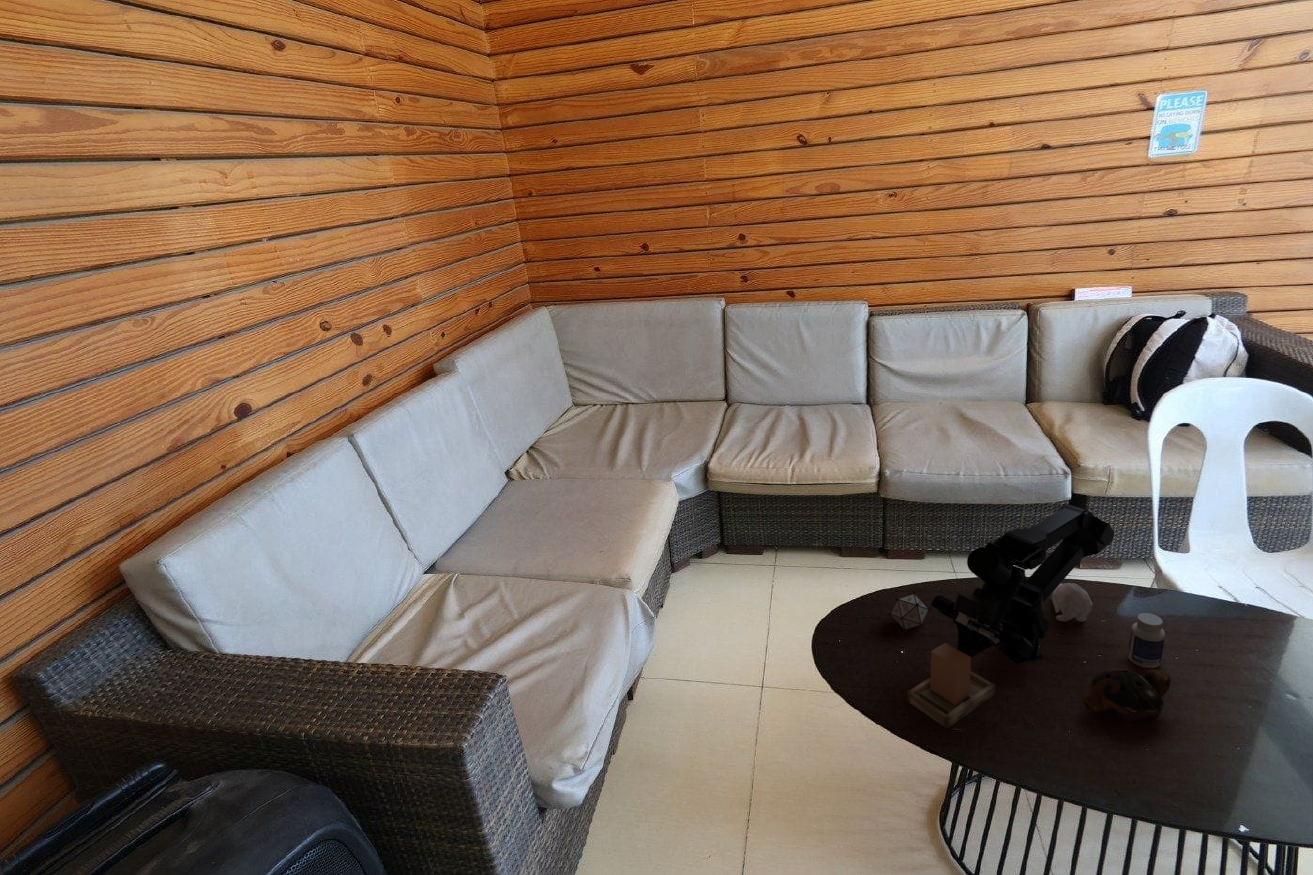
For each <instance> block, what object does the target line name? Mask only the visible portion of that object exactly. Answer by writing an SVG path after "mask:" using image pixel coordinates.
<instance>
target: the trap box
mask: <svg viewBox="0 0 1313 875" xmlns="http://www.w3.org/2000/svg"><path fill="white" fill-rule="evenodd" d="M930 681H931V676H929V677H928V678H926V679H925V680H923V681H922V682H920V683H919V684H918V685H916V686H914V687H913V688H911V689H909V690H908V691H907V692H906V702H908V703H909V704H910V705H912V706H914V708H916V709H918V710H919V711H920V712H922V713H923V714H925V715H927V716H929V717H930V718H931V719H933V720H934V721H935V722H936V723H938V724H940V725H941V726H943V727H944V728H945V729H949V728H950V727H952V726H953V725H954V724H956V723H957V722H959V721H961V719H963V718H964V717H966V716H967V715H968V714H970V713H972V712H973V711H974V710H976V709H977V708H978V707H980V706H981V705H982V704H984V703H985V702H987V701H988V700H990V698H992V697H994V696H995V695H996V685H995V684H994V683H992V682H990V681H989V680H988V679H985V678H984V677H982V676H980V675H979V674H977V673H975V672H973V671H972V670H970V690H969V697H967V698H966V699H964V700H963V701H961V702H960V703H959V704H957V705H954V704H952V703H951V702H949V701H948V700H946V699H945V698H943V697H941V696H940V695H938V694H937V693H935V692H934V691H932V690H931V689H930Z"/></svg>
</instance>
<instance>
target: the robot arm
mask: <svg viewBox="0 0 1313 875" xmlns="http://www.w3.org/2000/svg"><path fill="white" fill-rule="evenodd" d="M1114 538H1115V531H1114V528H1112V527H1111V524H1110V523H1109V522H1107V521H1104V520H1102V519H1101V518H1098V517H1097V516H1095V515H1094V514H1093V513H1092V512H1091V511H1089V509H1085V508H1082V507H1079V506H1076V505H1073V504H1070V503H1069V504H1068V503H1067V504H1063V505H1062V506H1060V508H1059V510H1058V511H1057V512H1054V513H1053V514H1051V515H1050V516H1048V517H1046V518H1044V519H1043V520H1042V521H1040V522H1037V524H1034V525H1033V526H1032V527H1028V528H1027V527H1025V528H1023V527H1022V528H1014V529H1012V530H1009V531H1007V532H1005V533H1004V534H1003V535H1001V536H1000V537H999V538H997V539H996V540H995V541H993V542H991V541H988V542H987V543H986V546H982V547H977V548H976V549H973V550H972V552H970V553H969V554H968V556H967V560H966V565H967V568H968V570H970V572H971V573H972V574H973V575H975V576H976V577H977V578H978V579H979V580H981V581H982V582H983V583H982V585H981V586H980V588H979V587H976V588H975V589H974V591H973V593H969V592H958V593H957V595H956V599H955V601H953V600H950V599H948V598H947V597H945V596H943V595H940V594H938V595H936V596H934V597H933V598H932V599H931V601H930V603H929V606H930V607H931V608H932V609H934V610H936V611H937V612H939V613H940V614H942V615H943V616H945V617H947V618H949V619H951V620H952V623H953V624H955V625H956V629H957V636H958V637H957V645H956V646H957V647H956V649H957V650H959V651H961V652H963V653H964V654H966V655H968V656H970V657H971V659H973V658H975V656H977V655H979V654H980V653H981V652H984V651H985V650H988V649H989V648H991V647H995V648H998V649H999V650H1000V651H1001V652H1002V653H1003V654H1004V655H1005V656H1006V657H1007V658H1008V659H1009V660H1011V661H1012V662H1013V663H1014V664H1020V663H1025V662H1028V661H1032V660H1036V659H1040V658H1043V657H1044V654H1043V653H1042V652H1041V651H1040V650H1038V649H1039V648H1038V647H1039V639H1044V638H1045V637H1046V633H1047V632H1048V630H1049V628H1050V627H1049V626H1050V621H1049V620H1048V619H1047V618H1046V617H1044V615H1045V611H1044V610H1045V609H1044V607H1045V606H1044V605H1045V604H1044V603H1045V601H1046V600H1047V599H1048V598H1050V597H1049V596H1052V594H1051V593H1052V592H1053V591H1054V590H1055V589H1056V588H1057V587H1058V585H1059V584H1060V583H1062V582H1063V581H1064V580H1065V579H1066V578H1067V576H1068V575H1069V574H1070V573H1071V572H1072V571H1073V570H1074V568H1075V567H1076V566H1077V565H1078V564H1079V563H1080V562H1081V561H1082V560H1083V559H1084V558H1087V557H1090V556H1094V555H1098V554H1099V553H1100V552H1102V551H1103V550H1104V549H1105V548H1106V547H1107V546H1109V545H1111V544H1112V542H1113V540H1114ZM1058 543H1059V544H1058ZM1057 544H1058V545H1057ZM1055 545H1057V546H1056V547H1055ZM1053 546H1054V547H1055V549H1053V550H1052V551H1051V553H1050V554H1048V556H1047V551H1048V550H1049V549H1051V548H1052V547H1053ZM1026 570H1035V571H1034V572H1032V574H1031V575H1030V576H1029V577H1028V578H1027V575H1026ZM975 629H978V631H977V630H975Z"/></svg>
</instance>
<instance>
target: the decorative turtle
mask: <svg viewBox="0 0 1313 875" xmlns="http://www.w3.org/2000/svg"><path fill="white" fill-rule="evenodd" d="M1171 679H1172V678H1171V676H1170V675H1169V673H1167V672H1166V671H1163V670H1159V669H1150V670H1147V671H1145V672H1144V673H1143V674H1142V675H1140V674H1138V673H1137V672H1136V671H1133V670H1131V669H1123V668H1122V669H1121V668H1120V669H1119V668H1118V669H1110V670H1107V671H1103V672H1101V673H1099V674H1097V675H1096V676H1094V677H1093V679H1091V682H1090V685H1089V686H1090V691H1089V693H1087V694H1085V695H1084V696H1083V697H1082V702H1083V704H1084V706H1085V708H1086V709H1087V710H1088V711H1089V712H1091V713H1094V714H1096V713H1101V712H1107V711H1110V712H1111V711H1113V712H1114V713H1115V712H1116V713H1117V714H1118V715H1119V717H1120V718H1121V720H1122V721H1123V722H1124V723H1125V724H1128V725H1130V724H1131V725H1132V724H1134V723H1136V722H1139V721H1141V720H1143V719H1146V720H1149V721H1155V720H1158V718H1159V717H1160V715H1161V713H1162V711H1163V709H1164V700H1163V697H1164V696H1165V695H1166V694H1167V692H1168V691H1169V688H1170V686H1171V681H1172V680H1171Z"/></svg>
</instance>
